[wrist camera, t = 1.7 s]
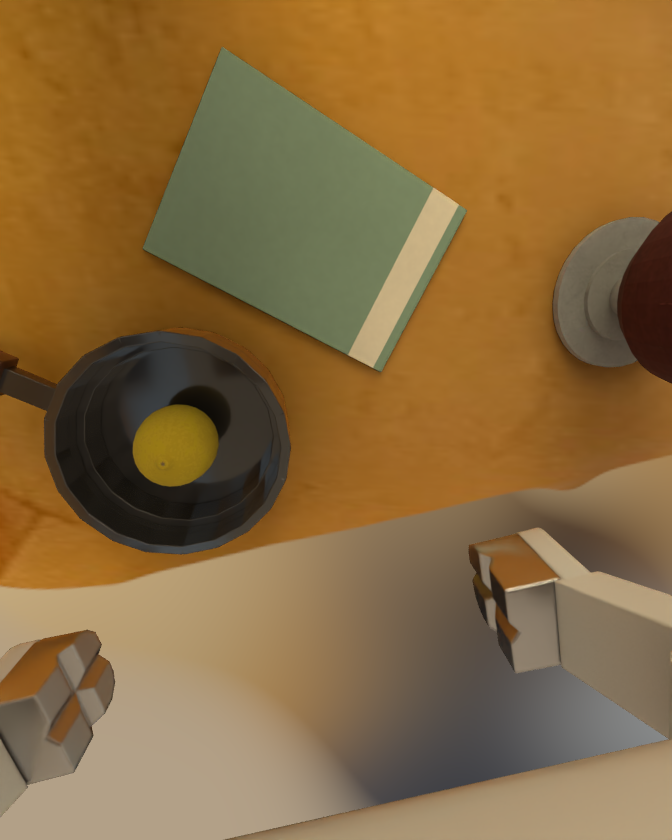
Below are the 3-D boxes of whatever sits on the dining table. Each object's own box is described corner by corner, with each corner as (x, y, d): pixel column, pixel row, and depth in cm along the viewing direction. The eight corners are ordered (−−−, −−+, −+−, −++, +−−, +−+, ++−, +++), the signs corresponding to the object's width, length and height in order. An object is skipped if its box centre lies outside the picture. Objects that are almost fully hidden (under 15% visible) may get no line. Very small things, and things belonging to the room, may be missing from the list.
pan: (58, 472, 32) (10, 506, 27) (129, 290, 30) (94, 285, 24) (241, 539, 36) (233, 582, 30) (319, 383, 33) (328, 398, 28)
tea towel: (144, 249, 29) (141, 248, 29) (222, 50, 27) (221, 45, 26) (379, 371, 34) (381, 372, 33) (464, 211, 31) (467, 210, 31)
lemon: (228, 457, 34) (213, 500, 26) (159, 463, 33) (123, 509, 25) (221, 392, 32) (202, 418, 24) (148, 397, 31) (106, 424, 24)
